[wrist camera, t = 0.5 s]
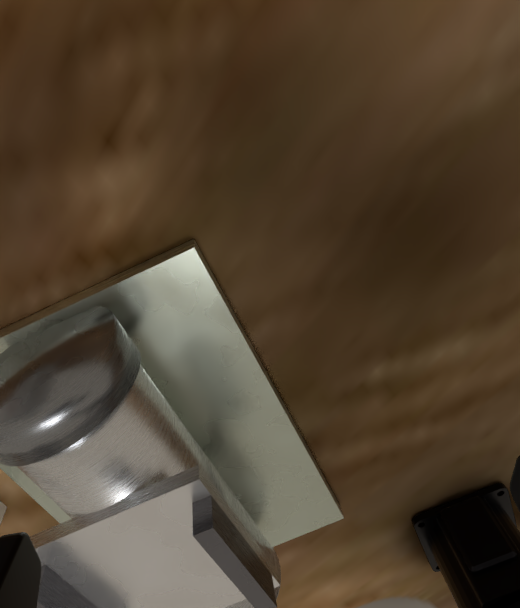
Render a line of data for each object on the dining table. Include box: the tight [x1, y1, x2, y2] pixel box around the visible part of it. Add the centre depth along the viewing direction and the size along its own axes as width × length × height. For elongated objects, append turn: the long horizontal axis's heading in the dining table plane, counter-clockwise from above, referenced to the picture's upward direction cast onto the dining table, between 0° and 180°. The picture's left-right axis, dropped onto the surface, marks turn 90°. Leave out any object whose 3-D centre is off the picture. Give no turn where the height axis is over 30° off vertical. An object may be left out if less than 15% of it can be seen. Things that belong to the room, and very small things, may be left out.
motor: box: [0, 239, 344, 608], centre depth 23 cm, size 20×14×8 cm
